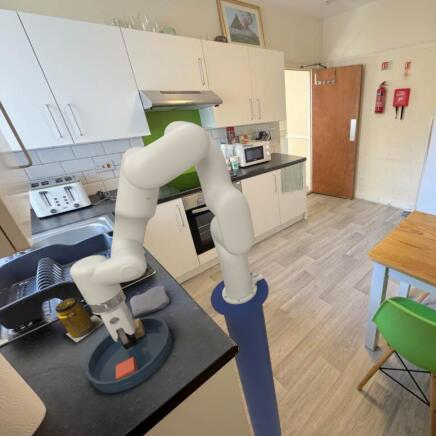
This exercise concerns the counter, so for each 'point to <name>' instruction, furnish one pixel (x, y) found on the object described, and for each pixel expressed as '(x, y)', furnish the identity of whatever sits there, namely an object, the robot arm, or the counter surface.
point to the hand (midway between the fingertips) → (131, 344)
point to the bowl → (142, 353)
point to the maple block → (139, 328)
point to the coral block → (126, 368)
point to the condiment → (76, 319)
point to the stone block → (149, 301)
